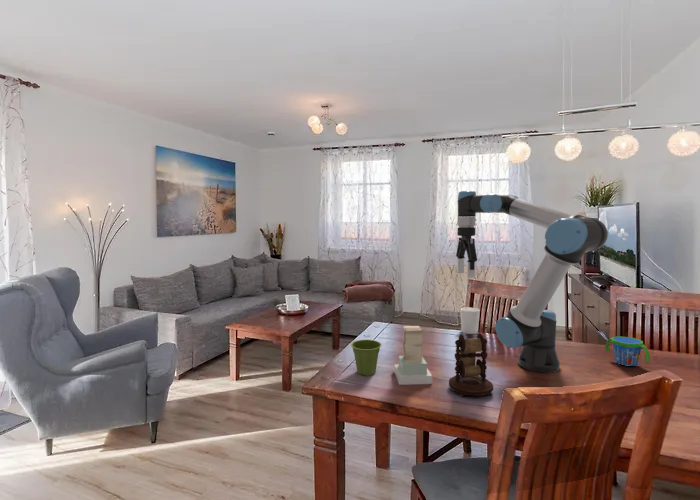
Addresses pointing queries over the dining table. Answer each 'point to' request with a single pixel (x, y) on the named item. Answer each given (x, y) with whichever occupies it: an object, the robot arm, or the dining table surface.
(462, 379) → the brown wooden spool stand
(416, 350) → the maple brick
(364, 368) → the plant pot
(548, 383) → the dining table surface
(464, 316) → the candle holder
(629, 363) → the snack cup
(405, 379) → the tower base
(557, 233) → the robot arm
